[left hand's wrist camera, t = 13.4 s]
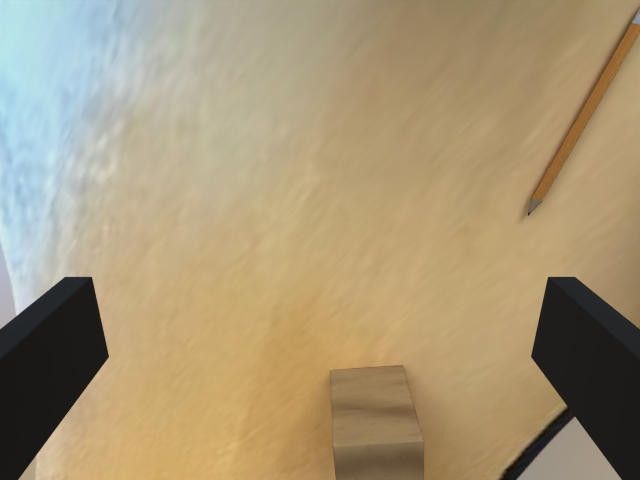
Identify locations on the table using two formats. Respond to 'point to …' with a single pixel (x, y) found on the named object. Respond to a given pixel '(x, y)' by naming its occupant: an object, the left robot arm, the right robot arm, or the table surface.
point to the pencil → (587, 111)
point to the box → (375, 425)
